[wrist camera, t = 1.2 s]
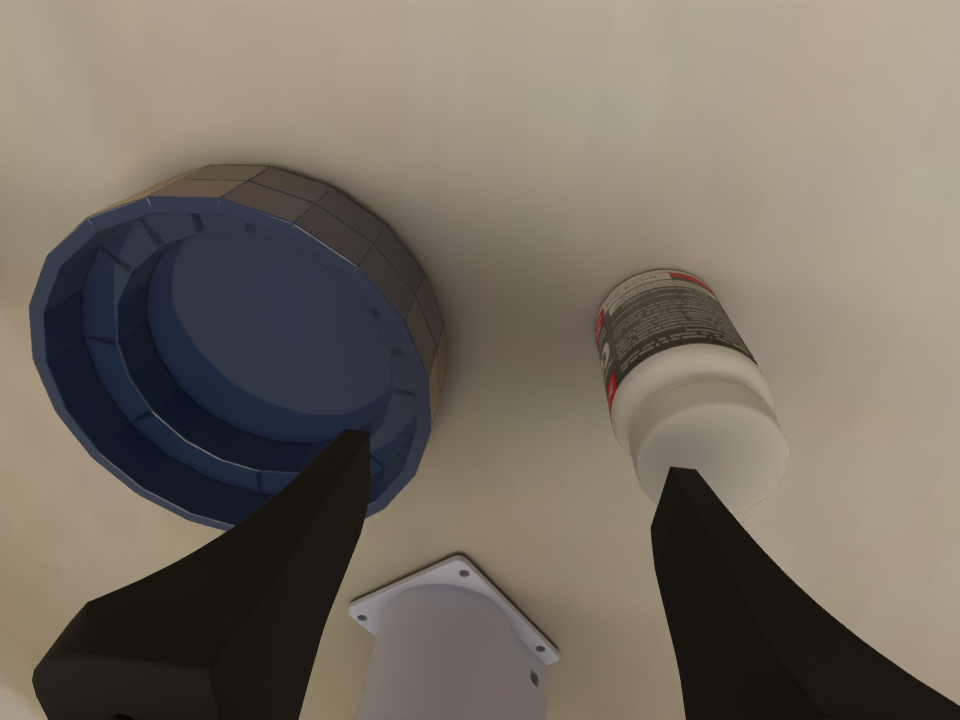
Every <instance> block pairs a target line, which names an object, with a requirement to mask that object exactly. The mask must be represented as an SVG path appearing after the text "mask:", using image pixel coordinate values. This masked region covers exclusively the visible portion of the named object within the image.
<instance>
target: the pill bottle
mask: <svg viewBox="0 0 960 720" xmlns="http://www.w3.org/2000/svg"><path fill="white" fill-rule="evenodd" d="M596 342H597V347H598V352H599V357H600V362H601V367H602V373H603V378H604V384H605V389H606V395H607V401H608V406H609V412H610V417H611V422H612V426H613V430H614V433H615V435H616V437H617V440H618V442H619V443H620V445H621V447H622V448H623V449H624V451H625V452H626V453H627V454H628V455H629V456H630V457H631V458H632V460H633V463H634V467H635V471H636V475H637V478H638V481H639V484H640V486H641V487H642V489H643V491H644V492H645V493H646V494H647V496H648V497H649V498H650V499H651V500H652V501H653V502H655V503H656V504H657V505H658V503H659V500H660V497H661V494H662V491H663V487H664V484H665V481H666V478H667V475H668V471H669V468H670V466H671V467H680V468H688V469H696V470H697V471H698V472H699V474H700V475H701V476H702V477H703V479H704V480H705V481H706V482H707V484H708V485H709V486H710V487H711V489H712V490H713V491H714V492H715V494H716V495H717V496H718V498H719V499H720V500H721V501H722V502H723V504H724V505H725V506H726V507H727V509H728V510H729V511H730V512H731V514H733V513H737V512H740V511H743V510H745V509H747V508H749V507H751V506H753V505H755V504H757V503H758V502H760V501H761V500H763V499H764V498H765V497H766V496H768V495H769V494H770V493H771V492H772V491H773V490H774V489H775V488H776V486H777V485H778V484H779V482H780V481H781V479H782V478H783V476H784V473H785V471H786V469H787V465H788V459H789V449H788V443H787V440H786V437H785V434H784V432H783V430H782V429H781V427H780V425H779V423H778V421H777V418H776V415H775V413H774V411H773V398H772V393H771V389H770V386H769V384H768V381H767V380H766V378H765V376H764V374H763V372H762V371H761V369H760V367H759V366H758V364H757V363H756V361H755V360H754V358H753V356H752V354H751V353H750V351H749V350H748V348H747V347H746V345H745V343H744V342H743V340H742V338H741V337H740V335H739V334H738V332H737V330H736V329H735V327H734V325H733V324H732V322H731V321H730V319H729V317H728V316H727V314H726V312H725V311H724V309H723V307H722V306H721V304H720V302H719V300H718V299H717V297H716V295H715V294H714V292H713V291H712V290H711V289H710V288H709V287H708V286H707V285H706V284H705V283H704V282H702V281H701V280H699V279H698V278H696V277H694V276H692V275H690V274H687V273H684V272H681V271H676V270H656V271H651V272H647V273H643V274H640V275H637V276H635V277H632V278H630V279H628V280H627V281H625V282H623V283H622V284H620V285H619V286H618V287H617V288H615V289H614V290H613V291H612V292H611V293H610V295H609V296H608V297H607V299H606V300H605V301H604V303H603V305H602V307H601V309H600V311H599V314H598V317H597V321H596Z"/></svg>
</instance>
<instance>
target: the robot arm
mask: <svg viewBox="0 0 960 720" xmlns="http://www.w3.org/2000/svg"><path fill="white" fill-rule="evenodd" d="M370 496H371V487H370V432H369V431H360V430H352V429H344V430H342V431H341V432H340V433H339V434H338V435H337V436H336V437H335V438H334V439H333V440H332V441H331V442H330V443H329V444H328V445H327V447H326V448H325V449H324V450H323V451H322V452H321V453H320V454H319V455H318V456H317V457H316V458H315V459H314V460H313V461H312V462H311V463H310V464H309V465H308V466H306V467H305V468H304V469H303V470H302V471H301V472H300V473H299V474H298V475H297V476H296V477H295V478H294V479H293V480H292V481H290V482H289V483H288V484H287V485H286V486H285V487H284V488H282V489H281V490H280V491H279V492H278V493H277V494H275V495H274V496H273V497H272V498H271V499H269V500H268V501H267V502H266V503H265V504H263V505H262V506H261V507H260V508H258V509H257V510H256V511H255V512H253V513H252V514H251V515H249V516H248V517H247V518H245V519H244V520H243V521H241V522H240V523H238V524H237V525H235V526H234V527H233V528H231V529H230V530H228V531H227V532H225V533H224V534H222V535H221V536H219V537H218V538H216V539H214V540H213V541H211V542H209V543H208V544H206V545H205V546H203V547H201V548H200V549H198V550H196V551H195V552H193V553H191V554H190V555H188V556H186V557H184V558H182V559H180V560H179V561H177V562H175V563H173V564H171V565H169V566H167V567H165V568H163V569H161V570H159V571H157V572H155V573H153V574H151V575H149V576H147V577H145V578H143V579H141V580H139V581H137V582H134V583H132V584H130V585H127V586H125V587H123V588H120V589H118V590H116V591H113V592H111V593H109V594H106V595H104V596H102V597H99V598H97V599H94V600H92V601H89V602H87V603H86V604H85V606H84V607H83V608H82V609H81V610H80V611H79V612H78V614H77V615H76V616H75V617H74V618H73V619H72V620H71V621H70V623H69V624H68V625H67V627H66V628H65V629H64V631H63V632H62V633H61V635H60V636H59V637H58V639H57V640H56V641H55V643H54V644H53V645H52V647H51V648H50V649H49V651H48V652H47V653H46V655H45V656H44V657H43V659H42V660H41V661H40V663H39V664H38V665H37V667H36V668H35V669H34V673H33V678H32V683H33V686H34V690H35V693H36V696H37V698H38V700H39V702H40V704H41V706H42V708H43V710H44V712H45V714H46V716H47V718H48V720H298V719H299V715H300V712H301V708H302V704H303V701H304V697H305V693H306V689H307V686H308V682H309V678H310V675H311V671H312V668H313V664H314V661H315V657H316V654H317V650H318V647H319V643H320V640H321V636H322V633H323V630H324V627H325V624H326V621H327V618H328V615H329V613H330V610H331V608H332V605H333V602H334V600H335V597H336V595H337V592H338V590H339V587H340V585H341V582H342V580H343V577H344V575H345V572H346V570H347V567H348V565H349V562H350V560H351V557H352V554H353V552H354V549H355V547H356V544H357V542H358V539H359V536H360V534H361V530H362V527H363V523H364V519H365V516H366V512H367V508H368V504H369V500H370ZM651 538H652V549H653V557H654V566H655V571H656V576H657V580H658V584H659V589H660V593H661V597H662V601H663V605H664V609H665V614H666V618H667V622H668V626H669V630H670V634H671V638H672V642H673V646H674V650H675V654H676V659H677V664H678V669H679V674H680V680H681V687H682V694H683V701H684V709H685V716H686V720H960V706H959V705H957V704H956V703H954V702H953V701H951V700H949V699H948V698H946V697H945V696H943V695H941V694H940V693H938V692H937V691H935V690H933V689H932V688H930V687H929V686H927V685H926V684H924V683H922V682H921V681H919V680H918V679H916V678H915V677H913V676H912V675H910V674H909V673H907V672H906V671H904V670H903V669H901V668H900V667H899V666H897V665H896V664H894V663H893V662H891V661H890V660H889V659H887V658H886V657H884V656H883V655H881V654H880V653H879V652H877V651H876V650H875V649H873V648H872V647H871V646H869V645H868V644H867V643H865V642H864V641H863V640H861V639H860V638H859V637H857V636H856V635H855V634H854V633H853V632H851V631H850V630H849V629H848V628H846V627H845V626H844V625H843V624H841V623H840V622H839V621H838V620H836V619H835V618H834V617H833V616H831V615H830V614H829V613H828V612H827V611H826V610H824V609H823V608H822V607H821V606H820V605H819V604H817V603H816V602H815V601H814V600H813V599H812V598H811V597H810V596H809V595H808V594H807V593H806V592H804V591H803V590H802V589H801V588H800V587H799V586H798V585H797V584H796V583H795V582H794V581H793V580H792V579H791V578H790V577H788V576H787V575H786V574H785V573H784V572H783V571H782V570H781V568H780V567H779V566H778V565H777V564H776V563H775V562H774V561H773V560H772V559H771V558H770V557H769V556H768V555H767V554H766V553H765V552H764V551H763V550H762V548H761V547H760V546H759V545H758V544H757V543H756V542H755V541H754V539H753V538H752V537H751V536H750V535H749V534H748V533H747V531H746V530H745V529H744V528H743V527H742V526H741V524H740V523H739V522H738V521H737V520H736V518H735V517H734V516H733V515H732V514H731V512H730V511H729V510H728V509H727V507H726V506H725V505H724V504H723V502H722V501H721V500H720V499H719V498H718V496H717V495H716V494H715V492H714V491H713V490H712V489H711V487H710V486H709V485H708V484H707V482H706V481H705V480H704V479H703V477H702V476H701V475H700V474H699V472H698V471H697V470H696V469H688V468H680V467H671V466H670V468H669V471H668V475H667V478H666V481H665V484H664V487H663V491H662V494H661V497H660V500H659V503H658V506H657V510H656V513H655V516H654V519H653V522H652V525H651ZM464 570H467V571H464ZM347 611H348V614H349V615H350V616H351V617H352V618H353V619H355V620H356V621H357V622H358V623H359V624H361V625H362V626H363V627H364V628H365V629H366V630H368V631H369V632H370V633H371V634H372V635H373V636H375V641H374V645H373V649H372V653H371V657H370V661H369V665H368V669H367V673H366V677H365V680H364V684H363V688H362V692H361V696H360V700H359V704H358V708H357V712H356V716H355V720H546V666H548V665H551V664H553V663H556V662H557V661H558V660H559V652H558V650H557V649H556V648H555V647H554V646H553V645H552V644H551V643H550V642H549V641H548V640H547V639H546V638H545V637H544V636H543V635H542V634H541V633H540V632H539V631H538V630H537V629H536V628H535V627H534V626H533V625H532V624H531V623H530V622H529V621H528V620H527V619H526V618H525V617H524V616H523V615H522V614H521V613H520V612H519V611H518V610H517V609H516V608H515V607H514V606H513V605H512V604H511V603H510V602H509V601H508V600H507V599H506V598H505V597H504V596H503V595H502V594H501V593H500V592H499V591H498V590H497V589H496V588H495V586H494V585H493V584H492V583H491V582H490V581H489V580H488V579H487V578H486V577H485V576H484V575H483V574H482V573H481V572H480V571H479V570H478V569H477V568H476V567H475V566H474V565H473V564H472V563H471V562H470V561H469V560H468V559H467V558H465V557H464V556H461V555H456V556H453V557H450V558H448V559H446V560H444V561H442V562H439V563H437V564H435V565H433V566H431V567H428V568H426V569H424V570H422V571H420V572H417V573H415V574H413V575H411V576H409V577H406V578H404V579H402V580H400V581H398V582H395V583H393V584H391V585H389V586H386V587H384V588H382V589H380V590H378V591H375V592H373V593H371V594H369V595H367V596H364V597H362V598H360V599H358V600H356V601H353V602H351V603H350V604H349V607H348V610H347Z"/></svg>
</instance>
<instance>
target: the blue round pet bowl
mask: <svg viewBox="0 0 960 720" xmlns="http://www.w3.org/2000/svg"><path fill="white" fill-rule="evenodd" d="M29 306H30V307H29V316H30V329H31V342H32V355H33V360H34V364H35V366H36V368H37V371H38V373H39V375H40V377H41V380H42V382H43V384H44V387H45V389H46V391H47V394H48V396H49V398H50V401H51V403H52V405H53V407H54V410H55V411H56V413H57V415H58V416H59V417H60V418H61V420H62V421H63V422H64V423H65V425H66V426H67V427H68V428H69V430H70V431H71V432H72V433H73V435H74V436H75V437H76V438H77V440H78V441H79V442H80V443H81V445H82V446H83V447H84V449H85V450H86V451H87V452H88V454H89V455H90V456H91V457H92V458H93V459H94V460H95V461H97V462H98V463H99V464H100V465H102V466H103V467H104V468H105V469H107V470H108V471H109V472H110V473H112V474H113V475H114V476H115V477H117V478H118V479H119V480H120V481H121V482H123V483H124V484H125V485H126V486H128V487H129V488H130V489H131V490H133V491H134V492H135V493H137V494H138V495H140V496H142V497H144V498H146V499H148V500H149V501H151V502H153V503H155V504H157V505H159V506H161V507H163V508H165V509H167V510H169V511H171V512H173V513H175V514H177V515H179V516H181V517H182V518H184V519H186V520H189V521H192V522H195V523H199V524H202V525H206V526H209V527H213V528H216V529H220V530H223V531H228V530H230V529H231V528H233V527H234V526H235V525H237V524H238V523H240V522H241V521H243V520H244V519H245V518H247V517H248V516H249V515H251V514H252V513H253V512H255V511H256V510H257V509H258V508H260V507H261V506H262V505H263V504H265V503H266V502H267V501H268V500H269V499H271V498H272V497H273V496H274V495H275V494H277V493H278V492H279V491H280V490H281V489H282V488H284V487H285V486H286V485H287V484H288V483H289V482H290V481H292V480H293V479H294V478H295V477H296V476H297V475H298V474H299V473H300V472H301V471H302V470H303V469H304V468H305V467H306V466H308V465H309V464H310V463H311V462H312V461H313V460H314V459H315V458H316V457H317V456H318V455H319V454H320V453H321V452H322V451H323V450H324V449H325V448H326V447H327V445H328V444H329V443H330V442H331V441H332V440H333V439H334V438H335V437H336V436H337V435H338V434H339V433H340V432H341V431H342V430H344V429H352V430H360V431H369V432H370V487H371V496H370V500H369V504H368V508H367V512H366V516H365V518H367V517H369V516H371V515H373V514H375V513H377V512H379V511H381V510H383V509H384V508H386V507H387V505H388V504H389V503H390V502H391V501H392V500H393V499H394V498H395V497H396V496H397V494H398V493H399V492H400V491H401V490H402V489H403V488H404V487H405V486H406V485H407V484H408V482H409V481H410V480H411V479H412V478H413V477H414V476H415V474H416V472H417V470H418V467H419V464H420V461H421V458H422V456H423V453H424V450H425V447H426V445H427V442H428V439H429V436H430V433H431V430H432V426H433V422H434V418H435V414H436V410H437V406H438V402H439V398H440V393H441V389H442V385H443V381H444V377H445V372H446V366H445V336H444V325H443V320H442V317H441V315H440V312H439V310H438V307H437V305H436V302H435V299H434V297H433V294H432V292H431V289H430V287H429V284H428V282H427V279H426V276H425V274H423V271H422V270H421V268H420V267H419V266H418V265H417V263H416V262H415V261H414V260H413V258H412V257H411V256H410V255H409V253H408V252H407V251H406V250H405V248H404V247H403V246H402V245H401V243H400V242H399V241H398V240H397V238H396V237H395V236H394V235H393V233H392V232H391V231H390V230H389V228H388V227H387V226H385V225H384V224H383V223H382V222H380V221H379V220H378V219H376V218H375V217H373V216H372V215H370V214H369V213H368V212H366V211H365V210H363V209H362V208H360V207H359V206H358V205H356V204H355V203H353V202H352V201H351V200H349V199H348V198H346V197H345V196H343V195H342V194H341V193H339V192H338V191H336V190H335V189H332V188H331V187H329V186H326V185H323V184H320V183H317V182H314V181H311V180H308V179H306V178H303V177H300V176H297V175H294V174H291V173H288V172H285V171H282V170H279V169H276V168H273V167H270V166H229V165H210V166H205V167H202V168H200V169H197V170H194V171H191V172H188V173H185V174H183V175H180V176H177V177H174V178H171V179H168V180H166V181H163V182H160V183H157V184H155V185H153V186H151V187H149V188H147V189H145V190H143V191H141V192H138V193H136V194H134V195H132V196H130V197H128V198H126V199H124V200H122V201H119V202H117V203H115V204H113V205H111V206H109V207H107V208H105V209H103V210H101V211H99V212H97V213H94V214H92V215H90V216H89V217H87V218H85V219H84V220H83V221H82V222H81V223H80V224H79V225H78V226H77V227H76V228H75V229H74V230H73V231H72V232H71V233H70V234H69V235H68V236H67V237H66V238H65V239H64V240H63V241H62V242H61V243H60V244H58V245H57V246H56V247H55V248H54V249H53V250H52V251H51V252H50V253H49V254H48V255H47V257H46V259H45V262H44V265H43V268H42V271H41V274H40V277H39V279H38V282H37V285H36V288H35V291H34V294H33V296H32V299H31V302H30V305H29Z"/></svg>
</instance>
